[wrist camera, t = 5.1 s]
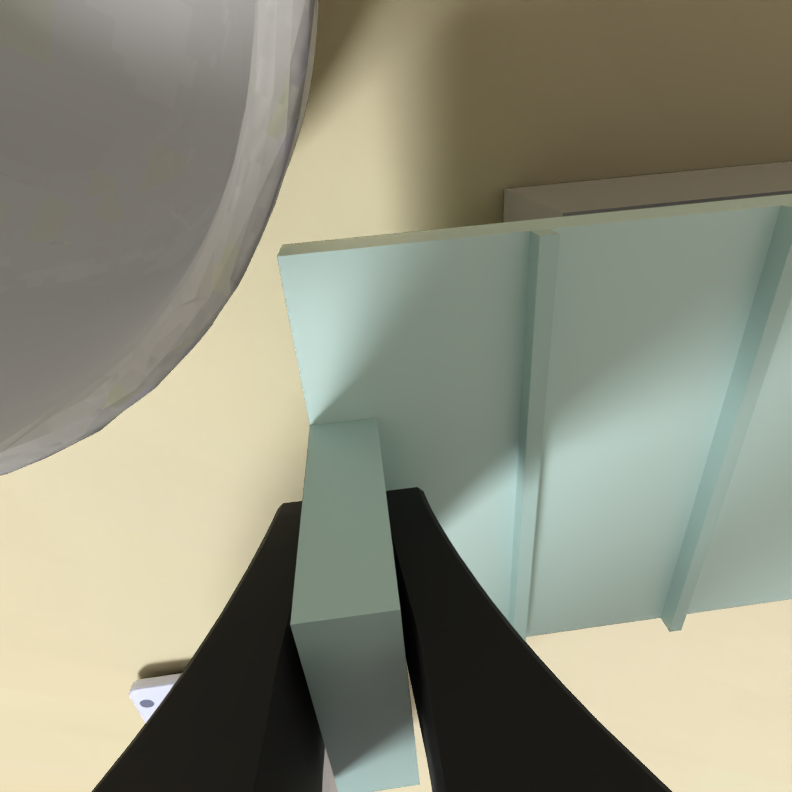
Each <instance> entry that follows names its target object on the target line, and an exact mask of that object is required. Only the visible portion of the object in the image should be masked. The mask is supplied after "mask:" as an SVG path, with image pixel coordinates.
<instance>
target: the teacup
mask: <svg viewBox="0 0 792 792" xmlns="http://www.w3.org/2000/svg"><path fill="white" fill-rule="evenodd" d="M317 22H318V0H0V475H4V474H8V473H10V472H13V471H15V470H18V469H20V468H23V467H25V466H27V465H30V464H32V463H35V462H37V461H40V460H42V459H44V458H47V457H49V456H51V455H53V454H55V453H57V452H59V451H61V450H63V449H65V448H67V447H69V446H71V445H73V444H75V443H77V442H79V441H81V440H83V439H85V438H87V437H89V436H91V435H93V434H94V433H96V432H98V431H100V430H101V429H103V428H104V427H105V426H106V425H107V424H109V423H110V422H111V421H112V420H113V419H115V418H116V417H117V416H118V415H119V414H121V413H122V412H123V411H124V410H126V409H127V408H129V407H130V406H131V405H133V404H134V403H136V402H137V401H138V400H140V399H141V398H142V397H144V396H145V395H146V394H148V393H149V392H151V391H152V390H153V389H155V388H156V387H157V386H158V385H159V384H160V382H161V381H162V380H163V379H164V378H165V377H166V376H167V375H168V374H169V373H170V372H171V371H172V370H173V369H174V368H175V367H176V366H177V364H178V363H179V362H180V361H181V360H182V359H183V358H184V357H185V356H186V355H187V354H188V353H189V352H190V351H191V350H192V348H193V347H194V346H195V345H196V344H197V343H198V342H199V341H200V339H201V338H202V337H203V336H204V334H205V333H206V332H207V331H208V329H209V328H210V327H211V326H212V324H213V322H214V321H215V319H216V318H217V316H218V314H219V313H220V311H221V310H222V308H223V307H224V305H225V304H226V303H227V301H228V300H229V298H230V297H231V295H232V294H233V292H234V291H235V290H236V288H237V287H238V285H239V283H240V281H241V279H242V277H243V276H244V274H245V272H246V270H247V268H248V265H249V263H250V261H251V259H252V257H253V254H254V252H255V250H256V248H257V246H258V244H259V241H260V239H261V237H262V234H263V232H264V230H265V227H266V225H267V223H268V220H269V218H270V215H271V213H272V211H273V208H274V206H275V203H276V200H277V197H278V194H279V191H280V188H281V185H282V182H283V179H284V176H285V173H286V170H287V168H288V166H289V163H290V160H291V157H292V154H293V151H294V148H295V145H296V142H297V139H298V136H299V133H300V130H301V127H302V124H303V119H304V115H305V110H306V106H307V102H308V97H309V91H310V85H311V79H312V72H313V65H314V57H315V48H316V36H317Z"/></svg>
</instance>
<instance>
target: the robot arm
mask: <svg viewBox="0 0 792 792" xmlns="http://www.w3.org/2000/svg"><path fill="white" fill-rule="evenodd" d="M386 497H387V505H388V513H389V521H390V529H391V537H392V546H393V554H394V562H395V570H396V578H397V586H398V594H399V602H400V610H401V619H402V628H403V637H404V646H405V655H406V661H407V666H408V671H409V676H410V680H411V685H412V690H413V695H414V699H415V704H416V709H417V714H418V719H419V723H420V728H421V733H422V738H423V742H424V747H425V752H426V757H427V762H428V768H429V774H430V780H431V785H432V791H433V792H672V791H671V790H670V789H669V788H668V787H667V786H666V785H665V784H664V783H663V782H662V781H660V780H659V779H658V778H657V777H656V776H655V775H654V774H653V773H652V772H651V771H650V770H649V769H648V768H647V767H646V766H645V765H644V764H643V763H642V762H641V761H640V760H639V759H638V758H636V757H635V756H634V755H633V754H632V753H631V752H630V751H629V750H628V749H627V748H626V747H625V746H624V745H623V744H622V743H621V742H620V741H619V740H618V739H617V738H616V737H615V736H614V735H612V734H611V733H610V732H609V731H608V730H607V729H606V728H605V727H604V726H603V725H602V724H601V723H600V722H599V721H598V720H597V719H596V718H595V717H594V716H593V715H592V714H591V713H590V712H589V711H588V710H587V709H586V707H585V706H584V705H583V704H582V703H581V702H580V701H579V700H578V699H577V698H576V697H575V696H574V695H573V694H572V693H571V692H570V691H569V690H568V689H567V688H566V687H565V686H564V684H563V683H562V682H561V681H560V680H559V679H558V678H557V677H556V676H555V675H554V673H553V672H552V671H551V670H550V669H549V668H548V667H547V666H546V665H545V664H544V662H543V661H542V660H541V659H540V658H539V657H538V656H537V655H536V653H535V652H534V651H533V650H532V649H531V648H530V646H529V645H528V644H527V643H526V642H525V641H524V639H523V638H522V637H521V636H520V635H519V633H518V632H517V631H516V630H515V629H514V627H513V626H512V625H511V624H510V622H509V621H508V620H507V619H506V617H505V616H504V615H503V614H502V612H501V611H500V610H499V609H498V607H497V606H496V605H495V604H494V602H493V601H492V600H491V598H490V597H489V596H488V594H487V593H486V592H485V590H484V589H483V588H482V586H481V585H480V584H479V582H478V581H477V579H476V578H475V577H474V575H473V574H472V572H471V571H470V569H469V568H468V567H467V565H466V564H465V562H464V561H463V559H462V558H461V557H460V555H459V554H458V552H457V551H456V549H455V548H454V546H453V545H452V543H451V541H450V540H449V538H448V537H447V535H446V533H445V532H444V530H443V528H442V527H441V525H440V523H439V522H438V520H437V518H436V516H435V514H434V512H433V511H432V509H431V507H430V505H429V503H428V501H427V498H426V496H425V494H424V491H422V490H421V489H420V488H418V487H413V488H405V489H397V490H388V491H386ZM301 510H302V501H299V502H290V503H283V504H282V505H281V506H280V507H279V508H278V510H277V512H276V514H275V516H274V519H273V521H272V523H271V525H270V527H269V529H268V531H267V533H266V535H265V537H264V539H263V541H262V543H261V544H260V546H259V548H258V550H257V552H256V554H255V556H254V558H253V559H252V561H251V563H250V565H249V567H248V569H247V570H246V572H245V574H244V575H243V577H242V579H241V581H240V582H239V584H238V586H237V587H236V589H235V591H234V593H233V594H232V596H231V598H230V599H229V601H228V603H227V605H226V606H225V608H224V610H223V611H222V613H221V614H220V616H219V618H218V619H217V621H216V622H215V624H214V625H213V627H212V628H211V630H210V631H209V633H208V635H207V636H206V638H205V639H204V641H203V642H202V644H201V645H200V647H199V648H198V650H197V651H196V653H195V654H194V656H193V658H192V659H191V661H190V662H189V664H188V665H187V667H186V668H185V670H184V671H183V672H182V673H180V674H172V675H165V676H158V677H151V678H144V679H140V680H137V681H135V682H134V683H133V684H132V686H131V689H130V692H129V697H130V698H131V700H132V702H133V703H134V705H135V707H136V708H137V710H138V712H139V713H140V715H141V716H142V718H143V720H144V721H145V725H144V726H143V727H142V729H141V730H140V731H139V733H138V734H137V735H136V737H135V738H134V739H133V741H132V742H131V743H130V745H129V746H128V747H127V748H126V750H125V751H124V752H123V753H122V755H121V756H120V757H119V758H118V760H117V761H116V762H115V763H114V765H113V766H112V767H111V768H110V770H109V771H108V772H107V773H106V774H105V776H104V777H103V778H102V779H101V781H100V782H99V783H98V784H97V786H96V787H95V788H94V789H93V791H92V792H338V789H337V786H336V783H335V779H334V776H333V772H332V769H331V765H330V762H329V758H328V755H327V751H326V748H325V744H324V741H323V737H322V734H321V730H320V727H319V723H318V720H317V716H316V713H315V709H314V706H313V702H312V699H311V695H310V692H309V688H308V685H307V681H306V678H305V674H304V671H303V667H302V664H301V660H300V657H299V654H298V650H297V647H296V643H295V640H294V636H293V633H292V629H291V626H290V622H291V612H292V602H293V592H294V581H295V571H296V561H297V551H298V541H299V531H300V521H301Z"/></svg>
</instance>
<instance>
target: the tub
mask: <svg viewBox="0 0 792 792" xmlns="http://www.w3.org/2000/svg"><path fill="white" fill-rule="evenodd" d="M783 194H792V161H785V162H775V163H764V164H754V165H744V166H733V167H723V168H713V169H703V170H692V171H682V172H672V173H661V174H651V175H641V176H630V177H620V178H610V179H599V180H589V181H579V182H568V183H558V184H548V185H537V186H527V187H517V188H506V189H504V216H503V223H504V222H514V221H524V220H534V219H544V218H554V217H564V216H574V215H584V214H594V213H604V212H614V211H624V210H634V209H644V208H654V207H664V206H674V205H684V204H694V203H704V202H714V201H724V200H734V199H744V198H753V197H763V196H773V195H783Z"/></svg>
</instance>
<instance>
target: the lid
mask: <svg viewBox="0 0 792 792" xmlns="http://www.w3.org/2000/svg"><path fill="white" fill-rule="evenodd" d="M277 259H278V265H279V270H280V275H281V280H282V285H283V290H284V295H285V300H286V306H287V311H288V316H289V321H290V326H291V331H292V336H293V342H294V347H295V352H296V357H297V362H298V367H299V372H300V377H301V383H302V388H303V393H304V398H305V403H306V408H307V413H308V419H309V424H310V429H309V439H308V450H307V460H306V470H305V480H304V490H303V500H302V510H301V521H300V531H299V541H298V551H297V561H296V571H295V581H294V592H293V602H292V612H291V622H290V626H291V629H292V633H293V636H294V640H295V643H296V647H297V650H298V654H299V657H300V660H301V664H302V667H303V671H304V674H305V678H306V681H307V685H308V688H309V692H310V695H311V699H312V702H313V706H314V709H315V713H316V716H317V720H318V723H319V727H320V730H321V734H322V737H323V741H324V744H325V748H326V751H327V755H328V758H329V762H330V765H331V769H332V772H333V776H334V779H335V783H336V786H337V789H338V792H374V791H380V790H387V789H393V788H400V787H406V786H412V785H419V784H420V782H419V773H418V764H417V755H416V746H415V736H414V727H413V718H412V709H411V700H410V691H409V682H408V673H407V664H406V655H405V646H404V637H403V628H402V619H401V610H400V602H399V594H398V586H397V578H396V570H395V562H394V554H393V546H392V537H391V529H390V521H389V513H388V505H387V497H386V491H388V490H397V489H405V488H413V487H418V488H420V489H421V490H422V491H424V494H425V496H426V498H427V501H428V503H429V505H430V507H431V509H432V511H433V512H434V514H435V516H436V518H437V520H438V522H439V523H440V525H441V527H442V528H443V530H444V532H445V533H446V535H447V537H448V538H449V540H450V541H451V543H452V545H453V546H454V548H455V549H456V551H457V552H458V554H459V555H460V557H461V558H462V559H463V561H464V562H465V564H466V565H467V567H468V568H469V569H470V571H471V572H472V574H473V575H474V577H475V578H476V579H477V581H478V582H479V584H480V585H481V586H482V588H483V589H484V590H485V592H486V593H487V594H488V596H489V597H490V598H491V600H492V601H493V602H494V604H495V605H496V606H497V607H498V609H499V610H500V611H501V612H502V614H503V615H504V616H505V617H506V619H507V620H508V621H509V622H510V624H511V625H512V626H513V627H514V629H515V630H516V631H517V632H518V633H519V635H520V636H521V637H522V638H523V639H524V641H525V639H526V637H528V636H535V635H542V634H549V633H556V632H563V631H570V630H577V629H584V628H591V627H598V626H605V625H612V624H619V623H626V622H634V621H641V620H648V619H655V618H661V619H662V621H663V622H664V624H665V625H666V627H667V628H668V630H669V631H670V632H671V631H678V630H681V629H682V626H683V623H684V620H685V617H686V614H690V613H697V612H704V611H711V610H718V609H725V608H732V607H739V606H746V605H753V604H760V603H767V602H774V601H781V600H788V599H792V194H783V195H773V196H763V197H753V198H744V199H734V200H724V201H714V202H704V203H694V204H684V205H674V206H664V207H654V208H644V209H634V210H624V211H614V212H604V213H594V214H584V215H574V216H564V217H554V218H544V219H534V220H524V221H514V222H504V223H494V224H484V225H474V226H464V227H454V228H444V229H434V230H424V231H414V232H404V233H394V234H384V235H374V236H364V237H355V238H345V239H335V240H325V241H315V242H305V243H295V244H285V245H282V247H281V249H280V251H279V253H278V255H277Z"/></svg>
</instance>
